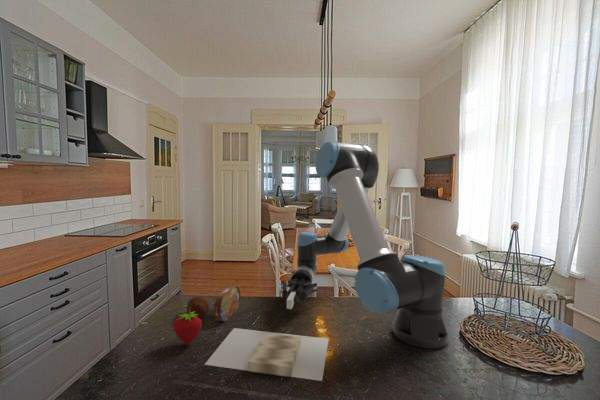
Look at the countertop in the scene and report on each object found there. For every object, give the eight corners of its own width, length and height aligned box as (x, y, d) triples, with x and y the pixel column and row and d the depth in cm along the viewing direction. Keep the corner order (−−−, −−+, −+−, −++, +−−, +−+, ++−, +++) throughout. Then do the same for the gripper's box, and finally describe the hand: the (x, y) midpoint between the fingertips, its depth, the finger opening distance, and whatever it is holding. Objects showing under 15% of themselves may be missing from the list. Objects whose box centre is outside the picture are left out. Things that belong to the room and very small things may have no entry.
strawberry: (179, 337, 84) (179, 302, 83) (205, 339, 83) (205, 304, 82) (168, 349, 78) (168, 312, 77) (196, 351, 77) (196, 314, 77)
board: (300, 337, 79) (290, 367, 67) (300, 346, 80) (290, 377, 67) (264, 333, 81) (247, 361, 68) (264, 342, 81) (247, 371, 69)
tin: (221, 326, 91) (221, 299, 90) (211, 325, 92) (212, 298, 91) (241, 306, 106) (241, 282, 105) (232, 305, 106) (232, 282, 106)
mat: (328, 340, 84) (328, 338, 84) (321, 383, 66) (322, 380, 66) (234, 329, 89) (234, 328, 89) (204, 366, 71) (204, 364, 71)
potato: (183, 323, 92) (183, 303, 92) (189, 310, 101) (188, 291, 101) (206, 322, 93) (206, 302, 93) (210, 309, 102) (210, 291, 102)
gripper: (319, 290, 110) (310, 319, 87) (285, 287, 112) (267, 314, 89) (320, 270, 110) (311, 293, 86) (285, 267, 112) (267, 290, 89)
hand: (289, 304), depth 88 cm, fingers closed
